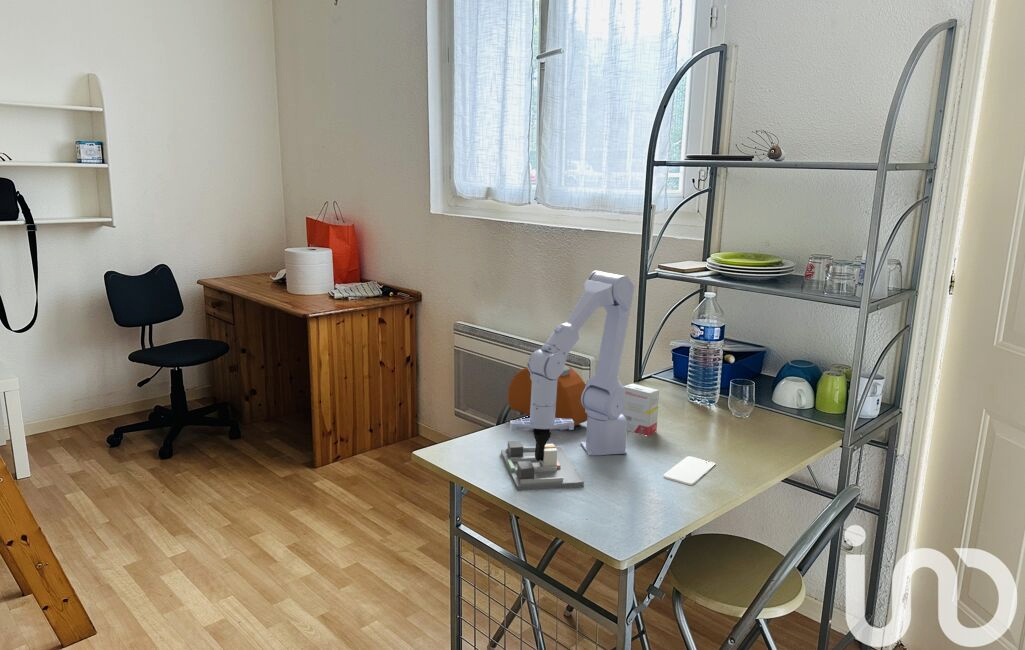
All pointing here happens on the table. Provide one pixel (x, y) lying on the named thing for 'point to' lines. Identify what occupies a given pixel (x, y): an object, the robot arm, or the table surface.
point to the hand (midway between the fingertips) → (540, 459)
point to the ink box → (641, 409)
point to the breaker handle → (549, 455)
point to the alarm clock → (566, 398)
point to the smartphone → (689, 470)
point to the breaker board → (538, 469)
